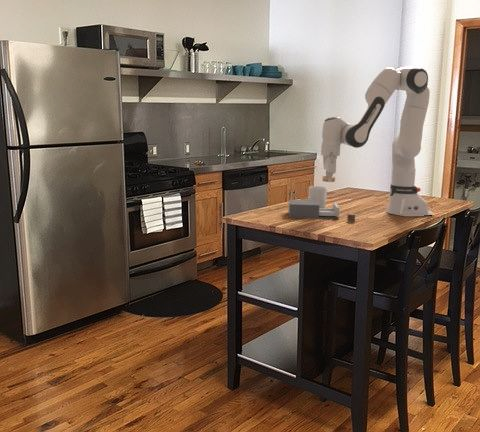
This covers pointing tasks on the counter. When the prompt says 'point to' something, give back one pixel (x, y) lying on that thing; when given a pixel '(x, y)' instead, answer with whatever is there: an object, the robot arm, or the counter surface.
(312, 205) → the housing
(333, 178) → the disc
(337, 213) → the white bracket
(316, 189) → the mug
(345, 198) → the counter surface
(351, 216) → the pedestal
